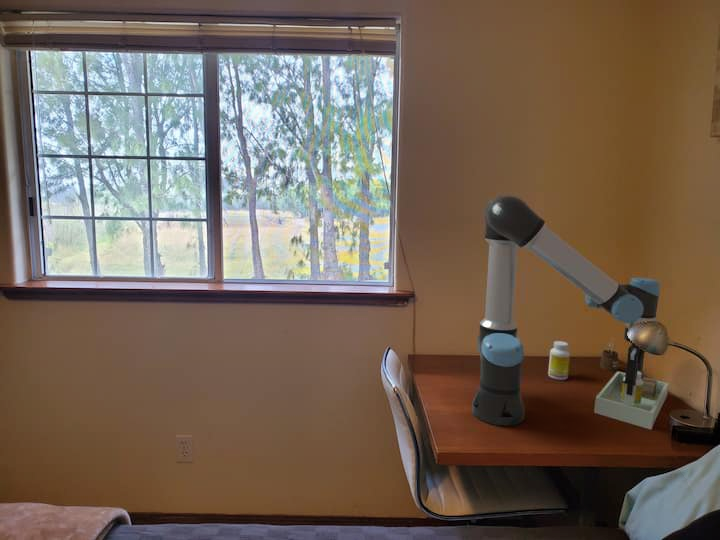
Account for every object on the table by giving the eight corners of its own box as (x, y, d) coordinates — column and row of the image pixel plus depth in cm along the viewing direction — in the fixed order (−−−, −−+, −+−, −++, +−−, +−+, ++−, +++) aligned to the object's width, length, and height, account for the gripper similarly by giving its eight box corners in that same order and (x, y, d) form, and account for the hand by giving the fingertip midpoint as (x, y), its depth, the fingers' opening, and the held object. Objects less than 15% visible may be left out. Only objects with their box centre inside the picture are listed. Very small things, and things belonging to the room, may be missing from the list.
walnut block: (652, 400, 148) (654, 385, 147) (621, 391, 154) (622, 377, 153) (655, 395, 152) (657, 380, 151) (624, 387, 157) (626, 373, 157)
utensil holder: (598, 369, 174) (601, 339, 172) (602, 365, 179) (605, 335, 177) (615, 374, 171) (619, 343, 169) (619, 369, 175) (622, 339, 173)
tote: (651, 429, 130) (653, 413, 130) (594, 412, 140) (595, 397, 139) (666, 397, 151) (668, 383, 150) (615, 384, 161) (617, 371, 160)
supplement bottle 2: (638, 407, 139) (642, 376, 138) (618, 401, 143) (622, 371, 141) (642, 401, 143) (646, 371, 142) (623, 395, 147) (626, 367, 145)
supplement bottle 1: (570, 381, 163) (573, 346, 161) (550, 379, 164) (553, 345, 162) (564, 374, 170) (568, 340, 168) (546, 372, 171) (549, 339, 169)
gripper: (648, 338, 130) (638, 415, 134) (659, 325, 144) (650, 394, 147) (618, 332, 135) (610, 406, 139) (631, 320, 148) (623, 387, 152)
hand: (630, 400), depth 143 cm, fingers closed on supplement bottle 2, 5 cm apart
